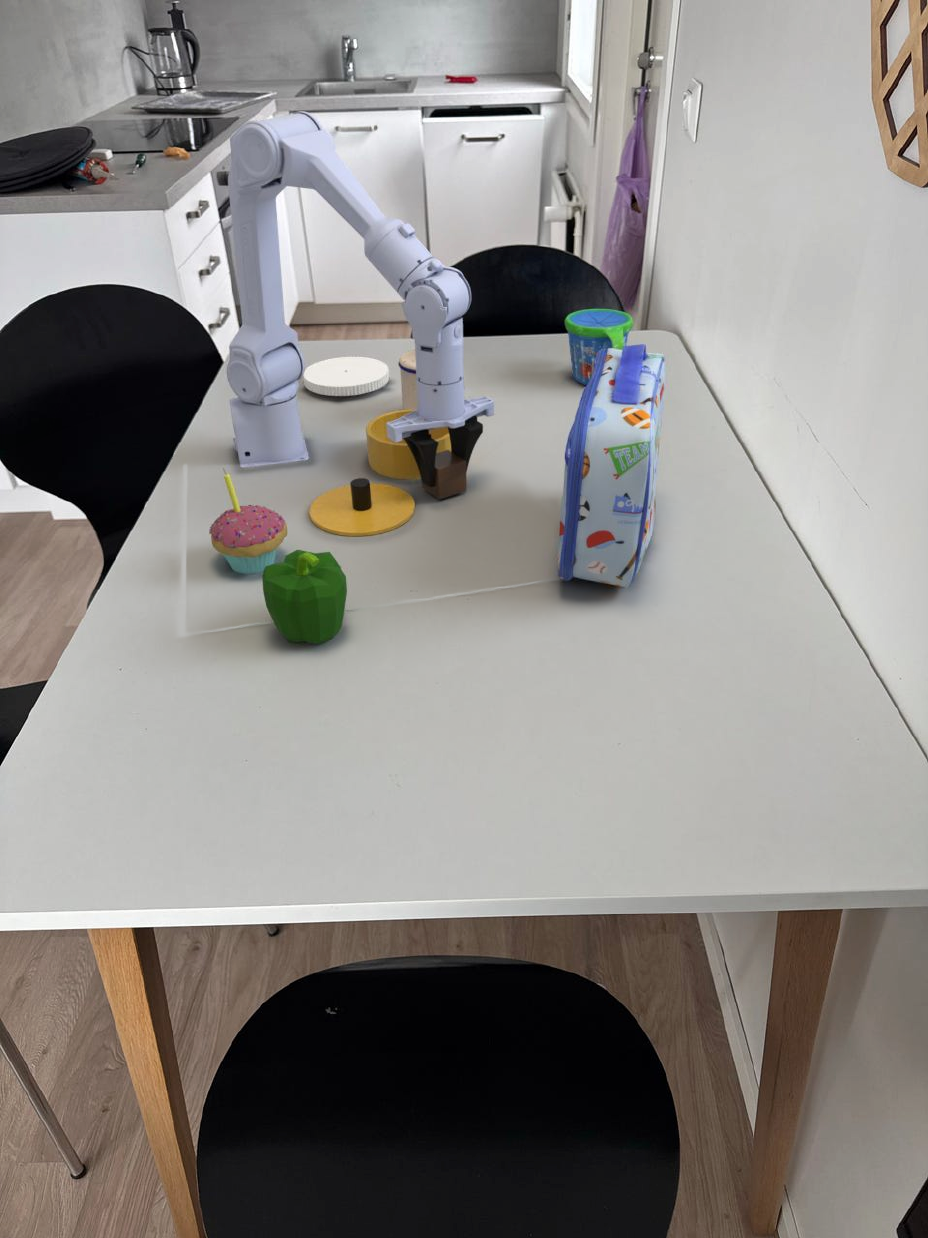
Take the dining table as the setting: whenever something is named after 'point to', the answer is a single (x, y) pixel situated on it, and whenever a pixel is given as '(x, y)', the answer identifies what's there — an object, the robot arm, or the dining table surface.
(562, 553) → the lunch box
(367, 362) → the plastic lid
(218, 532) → the cupcake
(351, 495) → the tin lid
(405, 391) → the teacup with lid
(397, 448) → the tin
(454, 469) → the walnut block
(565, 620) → the dining table surface
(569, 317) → the snack cup
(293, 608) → the bell pepper
